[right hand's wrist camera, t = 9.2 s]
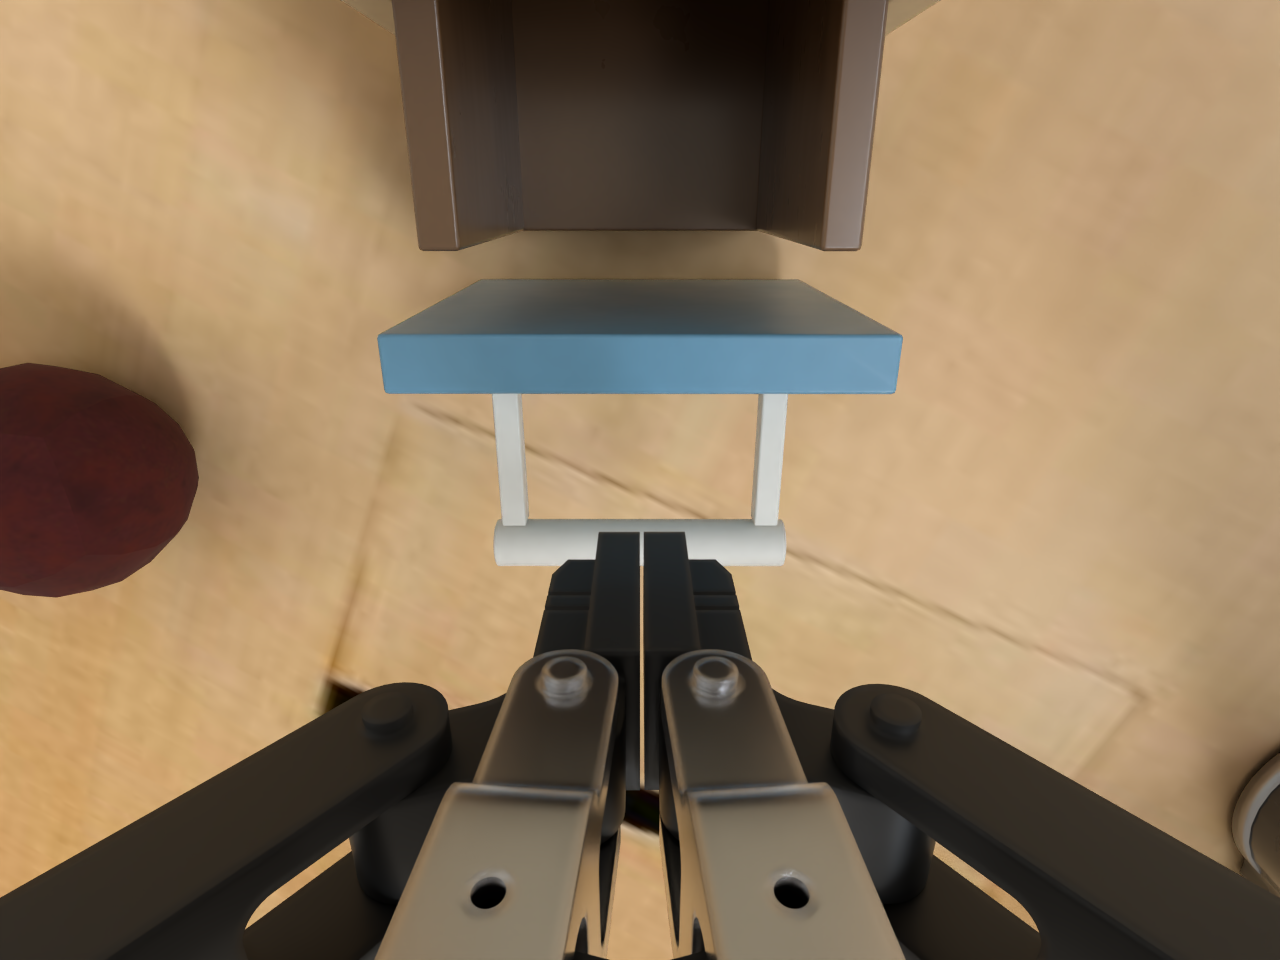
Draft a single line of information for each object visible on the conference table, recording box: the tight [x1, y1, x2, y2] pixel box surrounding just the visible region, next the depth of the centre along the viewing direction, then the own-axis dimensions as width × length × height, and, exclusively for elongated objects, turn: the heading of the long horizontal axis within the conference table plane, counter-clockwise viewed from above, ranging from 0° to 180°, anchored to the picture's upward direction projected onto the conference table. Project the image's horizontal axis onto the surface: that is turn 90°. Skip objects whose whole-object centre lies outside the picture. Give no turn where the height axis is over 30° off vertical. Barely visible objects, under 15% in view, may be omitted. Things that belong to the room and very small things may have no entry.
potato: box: [0, 363, 199, 597], centre depth 22 cm, size 7×8×7 cm
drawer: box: [377, 0, 903, 566], centre depth 17 cm, size 19×10×10 cm, turn 0°
